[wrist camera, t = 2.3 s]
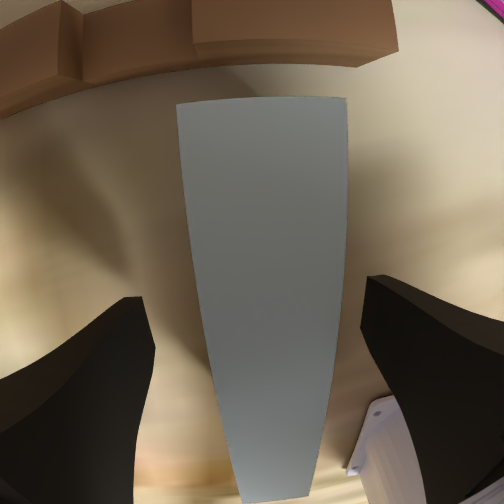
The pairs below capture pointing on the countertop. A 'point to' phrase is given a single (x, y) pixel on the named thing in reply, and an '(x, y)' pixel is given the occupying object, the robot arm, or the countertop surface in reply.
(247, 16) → the walnut slat
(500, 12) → the candy bar box
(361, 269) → the countertop surface
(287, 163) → the tapered grey panel
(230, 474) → the countertop surface
